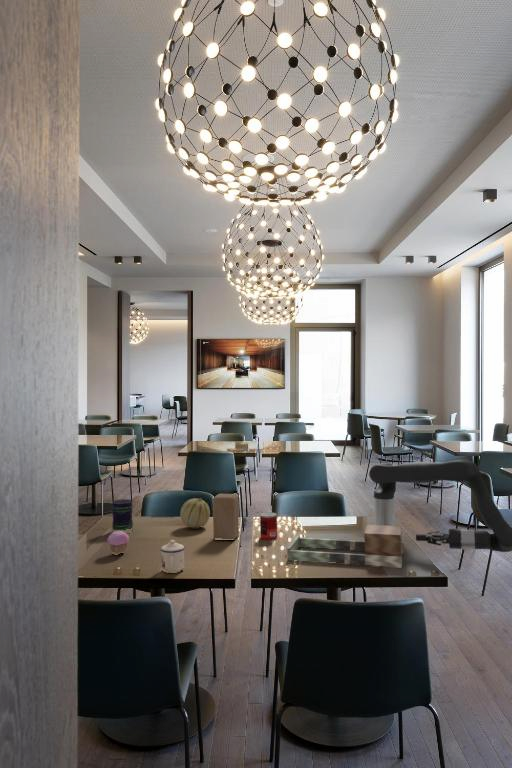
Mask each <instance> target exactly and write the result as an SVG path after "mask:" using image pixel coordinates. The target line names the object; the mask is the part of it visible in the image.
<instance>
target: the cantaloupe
mask: <svg viewBox="0 0 512 768" xmlns="http://www.w3.org/2000/svg"><path fill="white" fill-rule="evenodd" d="M210 516H211V510H210V506H209V504H208V503H207V501H205V500H203V498H202V497H200V498H197V497H196V498H195V497H194V498H190V499H188V500H186V501H185V502H184V504H182V506H181V509H180V519H181V522H182V523H183V524H184V525H185V526H187V527H188V526H189V527H188V528H190V527H201V526H203V527H204V526H206V525H207V523H208V522H209V520H210ZM201 528H202V527H201Z"/></svg>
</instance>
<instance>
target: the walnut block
mask: <svg viewBox="0 0 512 768" xmlns="http://www.w3.org/2000/svg"><path fill="white" fill-rule="evenodd" d="M363 535H364V541H365V551H364V554H365V555H382V556H399V557H402V558H403V553H402V543H403V542H402V525H396V526H384V525H374V524H366V527H365V530H364V533H363Z"/></svg>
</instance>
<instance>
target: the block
mask: <svg viewBox="0 0 512 768" xmlns="http://www.w3.org/2000/svg"><path fill="white" fill-rule="evenodd" d="M212 521H213V522H212V524H213V525H212V526H213V539H214V538H222V539H235V538H236V537H237V536H238V537H239V534H240V531H239V529H240V528H239V526H240V523H239V495H238V494H237V493H218V494H217V495H215V496H213V498H212ZM238 537H237V538H238ZM237 538H236V539H237ZM236 539H235V540H236Z"/></svg>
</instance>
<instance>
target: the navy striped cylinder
mask: <svg viewBox="0 0 512 768" xmlns="http://www.w3.org/2000/svg"><path fill="white" fill-rule="evenodd" d="M111 504H112V505H111V512H112V513H111V514H112V526H111V527H112V530H113V529H114V530H126V529H131V528H132V527H133V528H134V522H133V500H132V499H116V500H113V501H112V502H111Z"/></svg>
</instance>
